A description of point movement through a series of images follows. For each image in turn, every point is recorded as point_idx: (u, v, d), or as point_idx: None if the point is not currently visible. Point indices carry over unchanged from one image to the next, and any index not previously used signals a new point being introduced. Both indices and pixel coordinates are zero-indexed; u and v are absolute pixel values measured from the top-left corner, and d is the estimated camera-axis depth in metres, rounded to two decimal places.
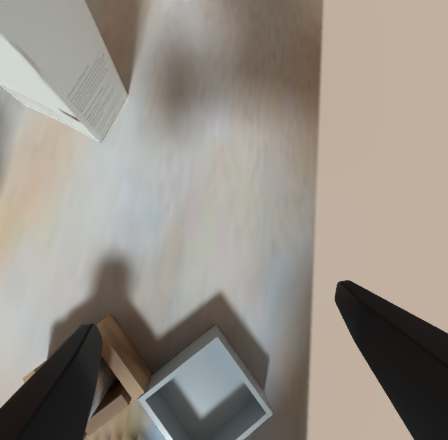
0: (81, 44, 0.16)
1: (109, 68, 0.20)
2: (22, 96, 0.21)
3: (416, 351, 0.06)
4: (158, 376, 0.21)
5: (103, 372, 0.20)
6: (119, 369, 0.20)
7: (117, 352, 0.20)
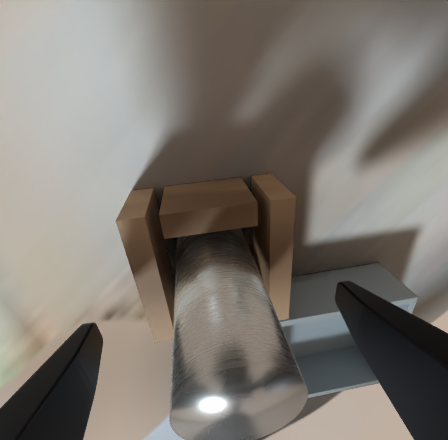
0: None
1: None
2: None
3: (416, 351, 0.06)
4: (296, 298, 0.14)
5: None
6: (280, 280, 0.11)
7: (290, 255, 0.11)
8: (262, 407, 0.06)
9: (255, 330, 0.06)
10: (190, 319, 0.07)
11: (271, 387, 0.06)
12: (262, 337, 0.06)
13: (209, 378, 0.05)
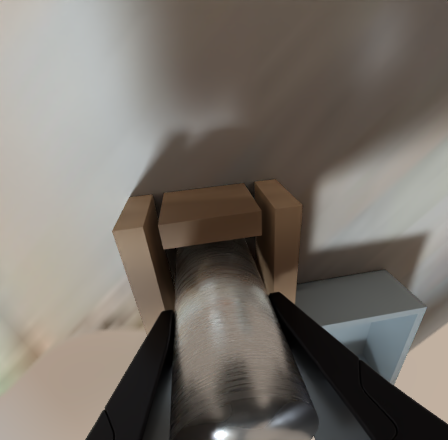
0: None
1: None
2: None
3: (317, 371, 0.06)
4: (301, 307, 0.13)
5: None
6: (284, 290, 0.11)
7: (295, 265, 0.10)
8: (269, 437, 0.06)
9: (261, 353, 0.06)
10: (191, 339, 0.07)
11: (279, 417, 0.05)
12: (269, 361, 0.06)
13: (212, 411, 0.05)
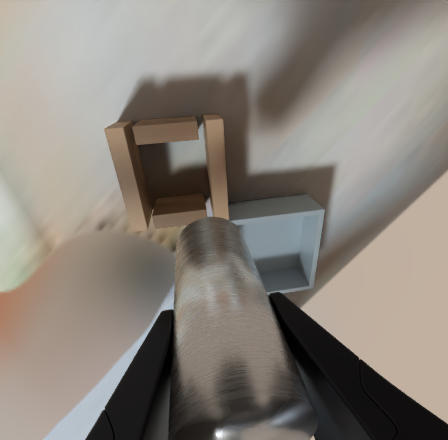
0: None
1: None
2: None
3: (317, 371, 0.06)
4: (239, 211, 0.19)
5: None
6: (219, 185, 0.16)
7: (225, 166, 0.16)
8: (268, 436, 0.06)
9: (261, 352, 0.06)
10: (190, 338, 0.07)
11: (279, 416, 0.05)
12: (268, 360, 0.06)
13: (211, 410, 0.05)
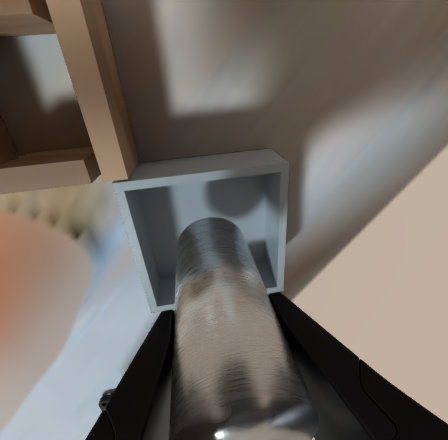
0: None
1: None
2: None
3: (317, 371, 0.06)
4: (155, 170, 0.12)
5: None
6: (95, 112, 0.09)
7: (102, 77, 0.09)
8: (269, 437, 0.06)
9: (262, 353, 0.06)
10: (191, 339, 0.07)
11: (280, 417, 0.05)
12: (269, 361, 0.06)
13: (212, 411, 0.05)
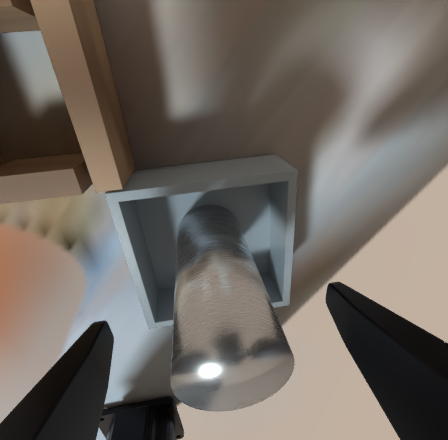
0: None
1: None
2: None
3: (403, 354, 0.06)
4: (152, 178, 0.11)
5: None
6: (85, 117, 0.08)
7: (92, 78, 0.08)
8: (253, 373, 0.07)
9: (247, 304, 0.07)
10: (189, 296, 0.08)
11: (261, 353, 0.07)
12: (253, 310, 0.07)
13: (205, 341, 0.06)
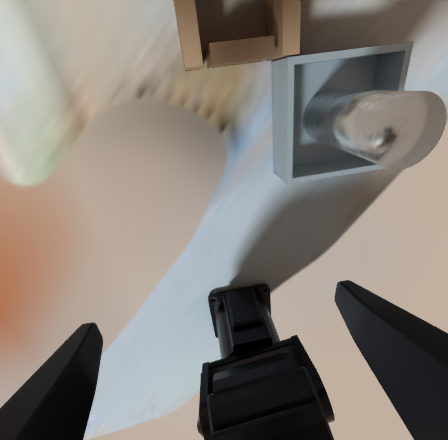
0: None
1: None
2: None
3: (416, 351, 0.06)
4: None
5: None
6: None
7: None
8: (420, 132, 0.12)
9: None
10: (369, 100, 0.13)
11: (430, 113, 0.11)
12: None
13: (406, 96, 0.11)
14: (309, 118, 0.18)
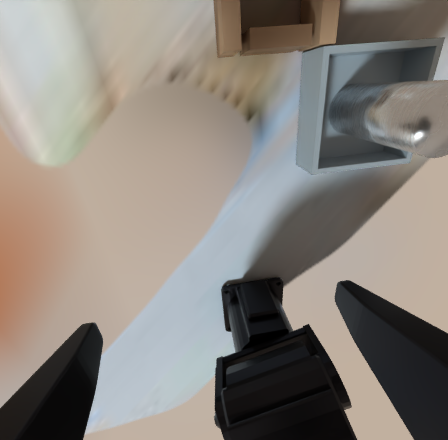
0: None
1: None
2: None
3: (416, 351, 0.06)
4: None
5: None
6: None
7: None
8: None
9: None
10: (407, 89, 0.13)
11: None
12: None
13: None
14: (336, 110, 0.18)
